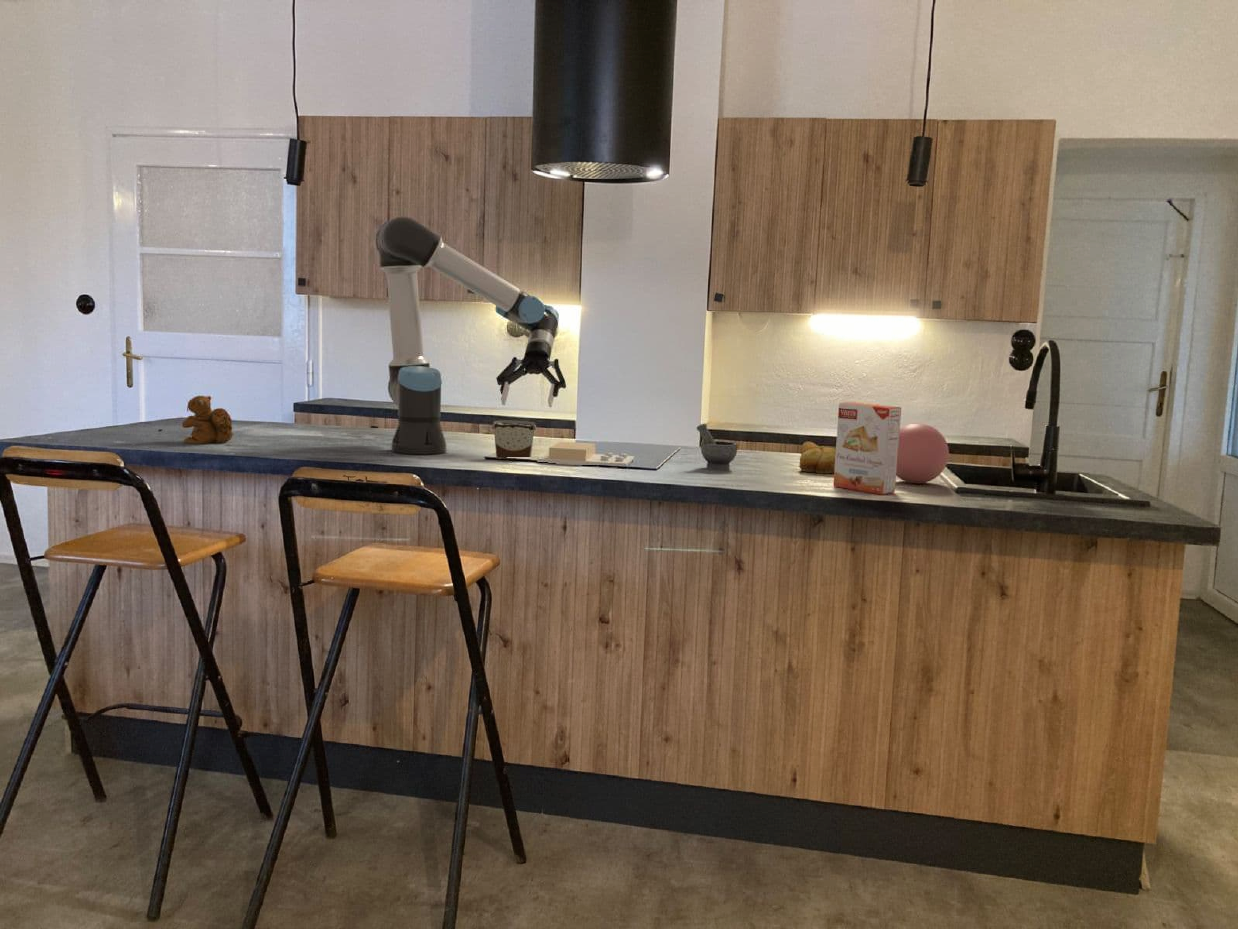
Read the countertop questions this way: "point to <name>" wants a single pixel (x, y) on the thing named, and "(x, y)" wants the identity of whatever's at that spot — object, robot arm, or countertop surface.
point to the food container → (513, 438)
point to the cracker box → (867, 447)
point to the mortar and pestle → (716, 450)
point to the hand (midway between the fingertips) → (526, 403)
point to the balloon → (921, 453)
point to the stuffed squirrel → (207, 422)
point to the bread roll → (817, 458)
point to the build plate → (589, 462)
